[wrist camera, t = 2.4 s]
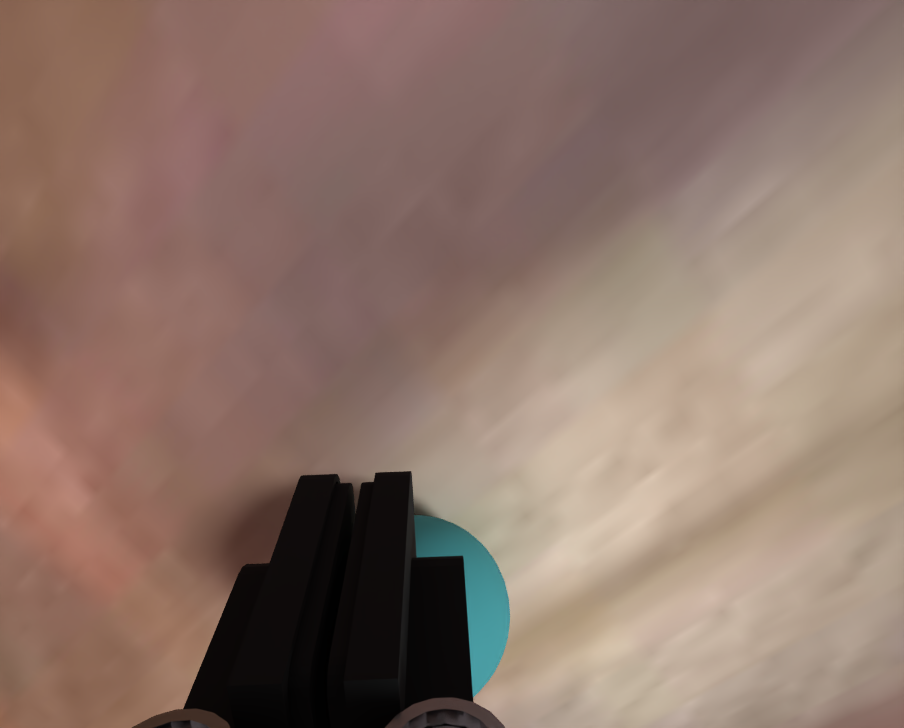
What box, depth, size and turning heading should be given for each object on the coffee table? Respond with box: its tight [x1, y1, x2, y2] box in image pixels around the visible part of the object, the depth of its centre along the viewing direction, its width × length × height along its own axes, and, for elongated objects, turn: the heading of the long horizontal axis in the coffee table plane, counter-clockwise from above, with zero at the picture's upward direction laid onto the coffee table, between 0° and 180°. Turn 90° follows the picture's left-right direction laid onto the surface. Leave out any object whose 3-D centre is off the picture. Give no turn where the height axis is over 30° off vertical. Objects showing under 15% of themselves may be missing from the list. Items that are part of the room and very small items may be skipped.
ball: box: [414, 515, 510, 697], centre depth 21 cm, size 6×6×6 cm
